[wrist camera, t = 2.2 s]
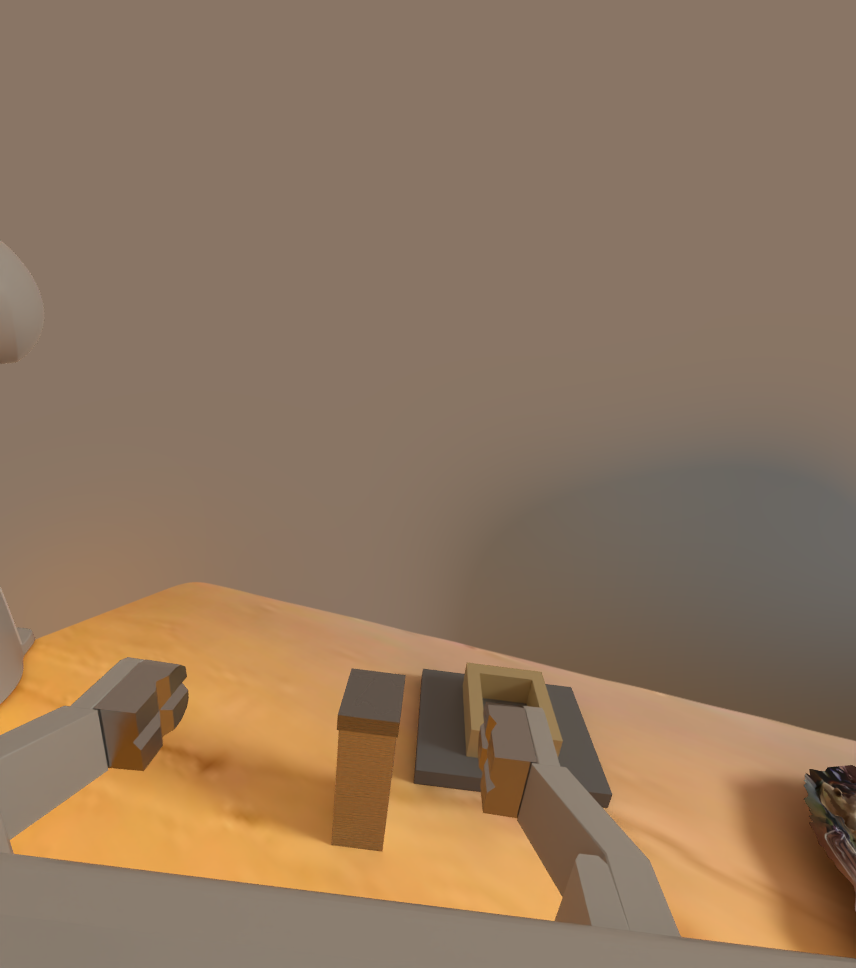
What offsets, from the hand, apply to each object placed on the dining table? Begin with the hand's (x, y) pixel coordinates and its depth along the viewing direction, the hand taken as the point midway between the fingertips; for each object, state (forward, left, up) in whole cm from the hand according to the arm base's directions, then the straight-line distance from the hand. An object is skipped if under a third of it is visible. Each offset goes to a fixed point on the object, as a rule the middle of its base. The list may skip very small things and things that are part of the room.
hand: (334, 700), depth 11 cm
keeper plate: (+8, +22, -24) cm, 34 cm away
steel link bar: (-2, +12, -24) cm, 27 cm away
